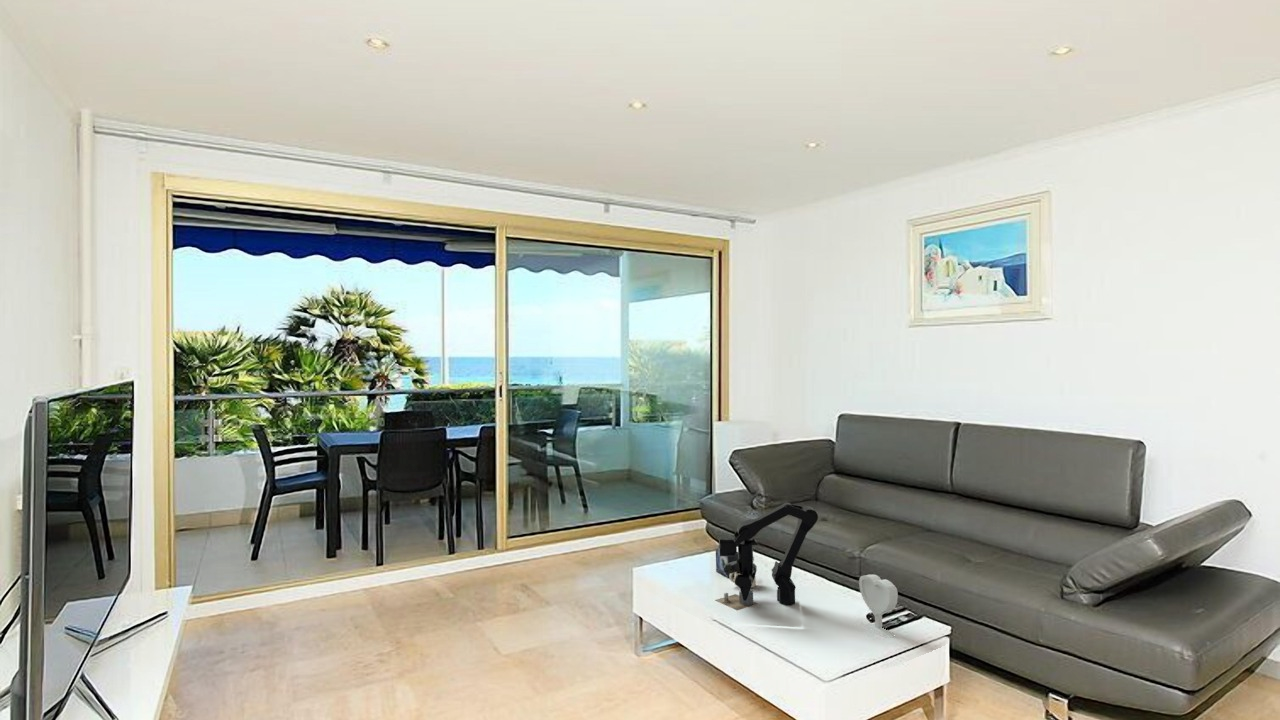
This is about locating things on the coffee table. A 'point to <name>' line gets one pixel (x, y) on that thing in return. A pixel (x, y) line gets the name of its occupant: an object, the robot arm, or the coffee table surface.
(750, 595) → the knob
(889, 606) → the heart sculpture
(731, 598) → the base plate
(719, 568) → the small box
